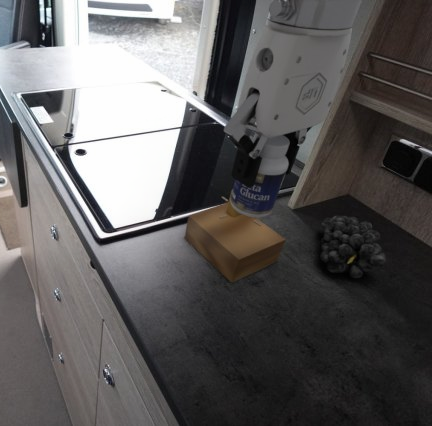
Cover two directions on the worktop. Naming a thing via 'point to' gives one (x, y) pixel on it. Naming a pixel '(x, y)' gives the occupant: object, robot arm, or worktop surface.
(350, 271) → the fruit
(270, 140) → the pill bottle
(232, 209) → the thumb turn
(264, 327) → the worktop surface
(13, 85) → the worktop surface
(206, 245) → the brown flat block
